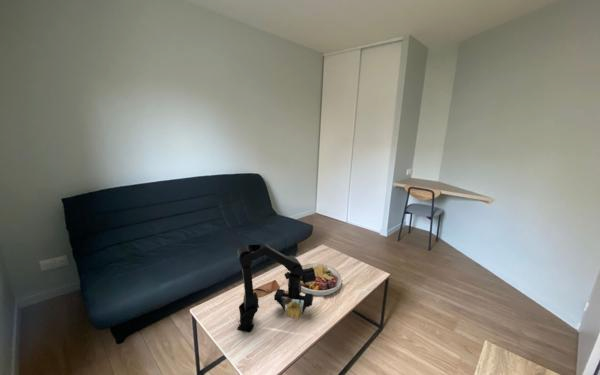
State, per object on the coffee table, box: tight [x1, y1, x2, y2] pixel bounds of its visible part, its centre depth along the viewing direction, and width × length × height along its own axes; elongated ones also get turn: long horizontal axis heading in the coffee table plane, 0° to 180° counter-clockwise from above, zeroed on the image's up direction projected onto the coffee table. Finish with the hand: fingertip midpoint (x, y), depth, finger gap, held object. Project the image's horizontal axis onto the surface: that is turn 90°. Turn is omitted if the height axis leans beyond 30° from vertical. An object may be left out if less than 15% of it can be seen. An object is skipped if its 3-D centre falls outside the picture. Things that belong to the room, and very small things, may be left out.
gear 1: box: [285, 290, 292, 304], centre depth 129 cm, size 7×7×4 cm
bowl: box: [300, 262, 343, 297], centre depth 147 cm, size 30×30×8 cm
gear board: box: [276, 293, 304, 309], centre depth 129 cm, size 8×16×6 cm, turn 79°
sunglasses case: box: [253, 279, 281, 299], centre depth 138 cm, size 18×7×7 cm, turn 132°
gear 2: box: [286, 302, 302, 319], centre depth 120 cm, size 7×7×5 cm
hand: (293, 311), depth 120 cm, fingers open, 9 cm apart
